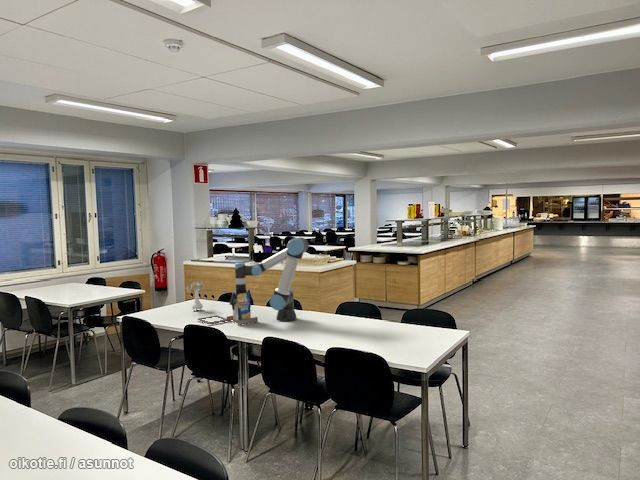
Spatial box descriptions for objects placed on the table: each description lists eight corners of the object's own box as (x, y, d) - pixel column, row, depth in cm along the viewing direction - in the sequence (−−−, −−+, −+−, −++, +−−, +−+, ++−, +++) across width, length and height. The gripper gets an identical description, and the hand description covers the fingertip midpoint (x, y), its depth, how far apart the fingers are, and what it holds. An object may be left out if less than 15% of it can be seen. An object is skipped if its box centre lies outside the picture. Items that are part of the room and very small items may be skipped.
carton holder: (257, 322, 344) (257, 317, 343) (238, 326, 334) (238, 320, 334) (245, 318, 358) (245, 313, 358) (226, 321, 348) (226, 316, 348)
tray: (228, 321, 348) (228, 319, 348) (208, 325, 338) (208, 322, 338) (217, 317, 364) (217, 315, 364) (197, 321, 354) (197, 318, 354)
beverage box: (233, 322, 345) (232, 293, 344) (245, 320, 352) (244, 291, 351) (238, 324, 340) (237, 294, 339) (250, 321, 347) (249, 292, 346)
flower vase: (183, 312, 389) (182, 282, 388) (198, 308, 406) (197, 279, 405) (195, 313, 384) (194, 283, 382) (210, 309, 400) (209, 280, 399)
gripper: (252, 281, 355) (253, 309, 356) (223, 284, 340) (225, 314, 341) (257, 282, 349) (258, 311, 350) (228, 285, 334) (229, 316, 336)
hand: (241, 312), depth 346 cm, fingers closed on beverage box, 11 cm apart
